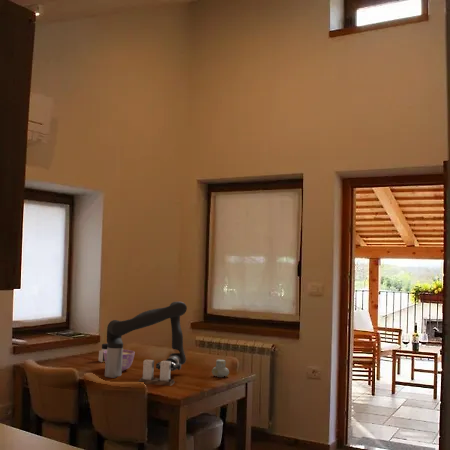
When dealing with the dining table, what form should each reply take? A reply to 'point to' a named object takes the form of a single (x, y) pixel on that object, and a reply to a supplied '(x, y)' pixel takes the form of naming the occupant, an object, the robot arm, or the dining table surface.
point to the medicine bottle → (101, 355)
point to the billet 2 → (165, 371)
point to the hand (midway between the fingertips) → (166, 368)
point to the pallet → (157, 381)
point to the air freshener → (220, 369)
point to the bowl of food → (124, 358)
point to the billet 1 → (148, 370)
